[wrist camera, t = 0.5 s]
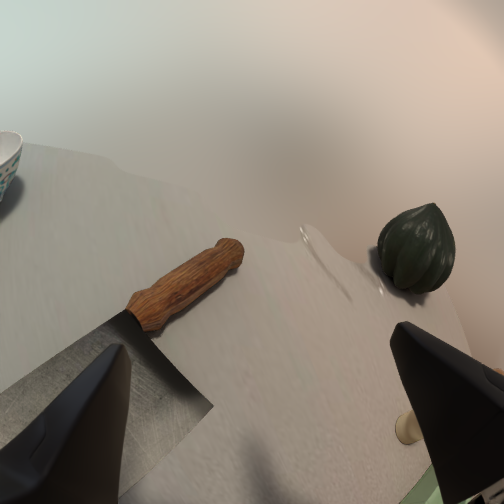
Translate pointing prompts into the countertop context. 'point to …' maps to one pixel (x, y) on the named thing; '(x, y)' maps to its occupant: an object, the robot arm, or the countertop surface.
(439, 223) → the squash
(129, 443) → the meat cleaver
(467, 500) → the green divided tray
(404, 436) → the dish brush
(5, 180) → the chinaware
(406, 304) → the countertop surface
